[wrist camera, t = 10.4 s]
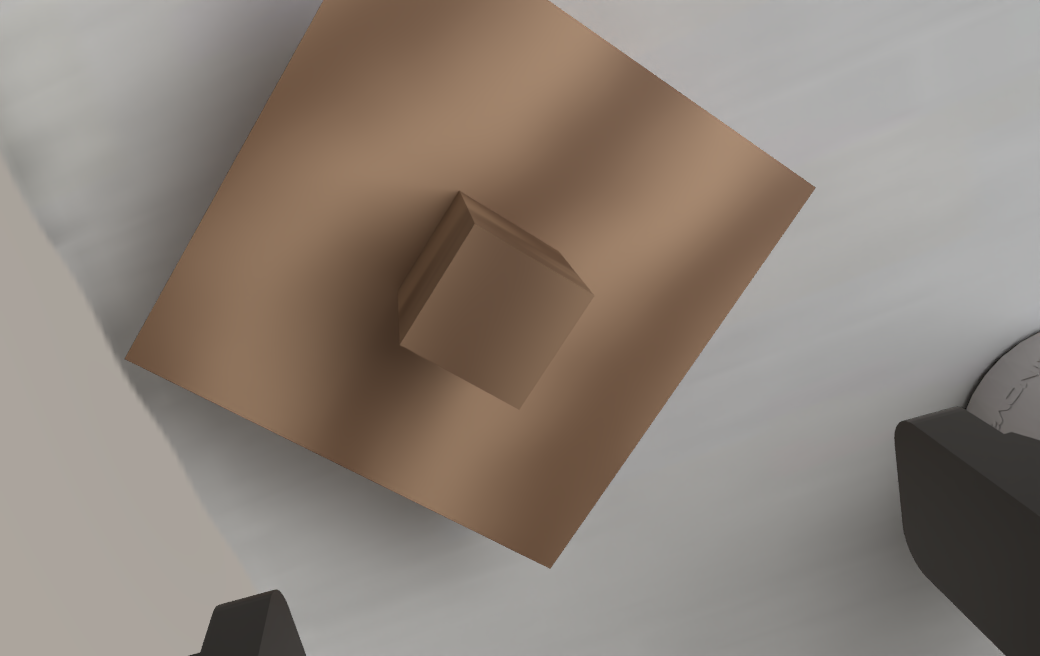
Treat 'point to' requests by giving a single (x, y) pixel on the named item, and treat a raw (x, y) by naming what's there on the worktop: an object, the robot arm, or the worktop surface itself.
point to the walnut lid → (468, 258)
